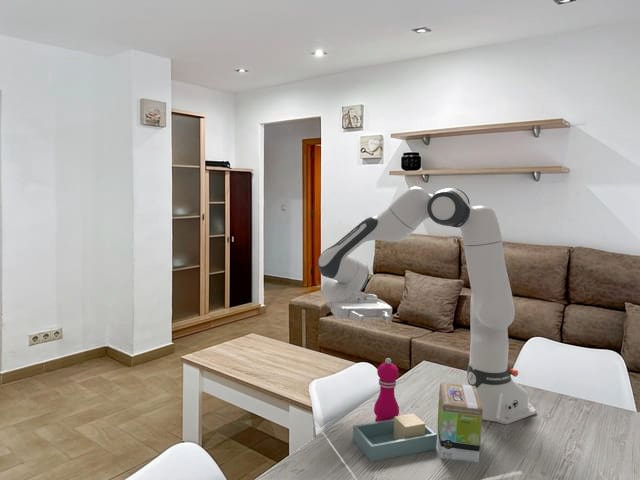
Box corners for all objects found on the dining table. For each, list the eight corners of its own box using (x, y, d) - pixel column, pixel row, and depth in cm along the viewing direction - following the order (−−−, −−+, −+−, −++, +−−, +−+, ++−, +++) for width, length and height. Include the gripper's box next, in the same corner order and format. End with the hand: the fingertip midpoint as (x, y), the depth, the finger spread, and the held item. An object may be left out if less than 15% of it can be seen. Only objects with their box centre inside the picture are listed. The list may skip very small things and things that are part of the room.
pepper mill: (372, 418, 141) (374, 353, 139) (396, 419, 141) (399, 354, 139) (374, 430, 134) (376, 362, 132) (400, 431, 133) (402, 363, 131)
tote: (414, 430, 134) (414, 415, 134) (436, 450, 124) (437, 434, 123) (352, 441, 128) (353, 425, 127) (370, 464, 117) (371, 446, 117)
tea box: (480, 465, 118) (483, 408, 116) (438, 460, 120) (441, 404, 118) (473, 435, 132) (476, 384, 131) (436, 430, 134) (438, 380, 133)
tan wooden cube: (412, 434, 131) (413, 413, 130) (424, 445, 125) (425, 423, 125) (393, 437, 129) (394, 416, 128) (404, 448, 123) (405, 427, 123)
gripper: (326, 293, 149) (347, 309, 137) (379, 294, 159) (403, 309, 147) (322, 312, 150) (343, 329, 138) (375, 312, 160) (399, 328, 148)
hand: (375, 319), depth 143 cm, fingers open, 8 cm apart
